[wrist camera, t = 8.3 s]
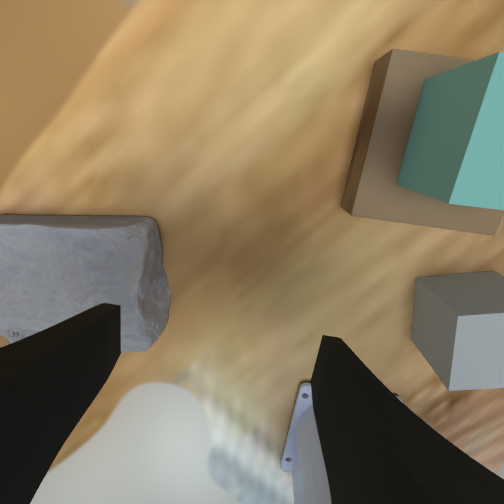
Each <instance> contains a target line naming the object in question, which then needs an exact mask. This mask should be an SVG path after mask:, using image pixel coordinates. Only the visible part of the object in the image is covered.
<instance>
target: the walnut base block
mask: <svg viewBox="0 0 504 504" xmlns="http://www.w3.org/2000/svg"><path fill="white" fill-rule="evenodd" d="M473 61H475V60H468V59H461V58H454V57H447V56H440V55H434V54H427V53H420V52H413V51H406V50H399V49H392V50H390V51H389V52H388V53H386V54H385V55H384V56H382V57H381V58H379V59H378V60H377V61H375V63H374V68H373V72H372V76H371V80H370V85H369V89H368V93H367V97H366V102H365V106H364V110H363V114H362V119H361V123H360V127H359V131H358V136H357V140H356V144H355V148H354V152H353V157H352V161H351V165H350V169H349V174H348V178H347V182H346V186H345V191H344V195H343V199H342V203H341V207H342V208H343V209H345V210H346V211H347V212H348V213H349V214H350V215H351V216H358V217H365V218H372V219H379V220H386V221H393V222H400V223H407V224H414V225H421V226H428V227H435V228H442V229H449V230H456V231H463V232H471V233H478V234H485V235H492V236H494V235H495V233H496V230H497V228H498V225H499V223H500V221H501V218H502V216H503V213H504V210H497V209H489V208H480V207H472V206H464V205H455V204H448V203H445V202H442V201H440V200H437V199H434V198H431V197H429V196H426V195H423V194H420V193H417V192H415V191H412V190H409V189H406V188H404V187H401V186H398V185H397V181H398V178H399V174H400V170H401V167H402V163H403V159H404V155H405V152H406V148H407V144H408V141H409V137H410V133H411V130H412V126H413V122H414V118H415V115H416V111H417V107H418V104H419V100H420V96H421V93H422V89H423V85H424V81H425V79H427V78H430V77H432V76H435V75H438V74H441V73H443V72H446V71H449V70H452V69H454V68H457V67H460V66H462V65H465V64H468V63H471V62H473Z"/></svg>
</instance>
